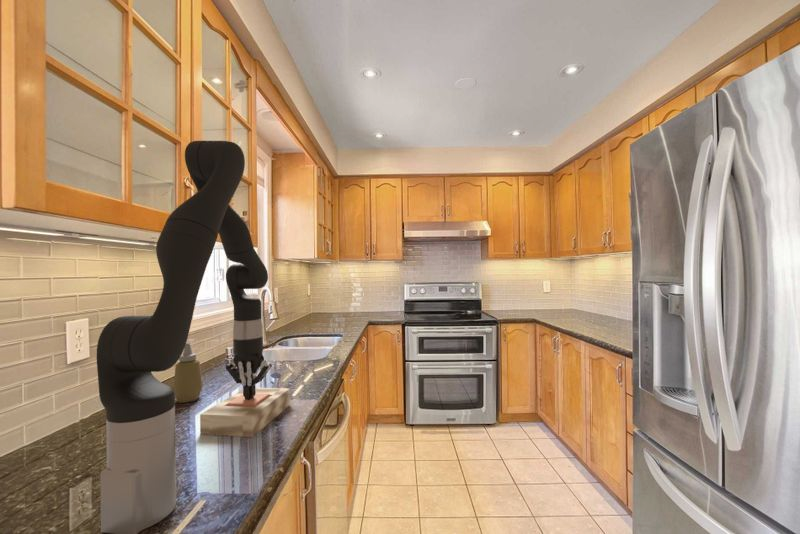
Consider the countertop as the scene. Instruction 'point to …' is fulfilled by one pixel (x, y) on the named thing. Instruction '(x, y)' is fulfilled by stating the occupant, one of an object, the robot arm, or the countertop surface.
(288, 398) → the button housing
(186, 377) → the squeeze bottle
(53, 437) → the countertop surface
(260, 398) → the button
